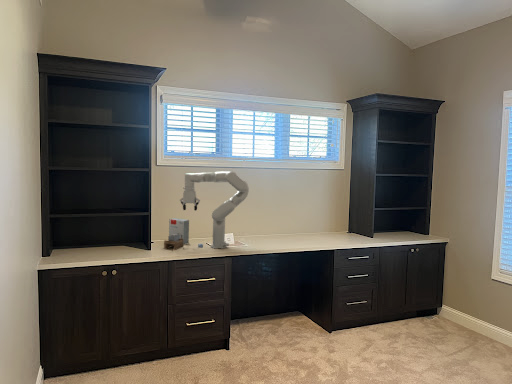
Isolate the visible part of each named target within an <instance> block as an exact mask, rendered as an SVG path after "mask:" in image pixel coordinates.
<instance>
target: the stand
mask: <svg viewBox="0 0 512 384" xmlns="http://www.w3.org/2000/svg"><path fill="white" fill-rule="evenodd" d="M163 243H164V244H163V248H164V249H165V250H166V249H169V248H172V247H173V250H178V249H180V248H183V247H184V245H183V239H180V241H177V242H176V241H168V240H166V239H165V240H163Z"/></svg>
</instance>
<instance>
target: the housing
mask: <svg viewBox="0 0 512 384" xmlns="http://www.w3.org/2000/svg"><path fill="white" fill-rule="evenodd" d="M167 237H168V240H167V241H176V242H177V241H180V235H177V234H172V235H170V236H169V235H168V236H167Z"/></svg>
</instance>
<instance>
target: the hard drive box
mask: <svg viewBox="0 0 512 384" xmlns="http://www.w3.org/2000/svg"><path fill="white" fill-rule="evenodd" d="M168 222H169V224H168V236H170V235H172V234H177V235H180V239H183V246H184V245H187V244H190V243H189V240H190V236H189V235H190V220H189V219H183V218H177V217H176V218H175V217H173V218H169V221H168Z"/></svg>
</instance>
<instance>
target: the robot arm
mask: <svg viewBox="0 0 512 384" xmlns="http://www.w3.org/2000/svg"><path fill="white" fill-rule="evenodd" d="M209 182H210V183H228V184H230V185H231V186H232V187H233V188H234V189H235V190H237V191H236V193H234V194H233V195H232V196H230V198H228V199H226V200H225V201H223V203H222V204H221V205H219V206H218V207H217V208H215V209H213V211H212V213H211V219H212V220H213V221H212V244H211V245H210V248H212V249H216V248H221V249H225V248H227V247H229V246H230V243H228V242H226V241H225V240H226V239H225V235H226V234H225V233H226V217H228V216H229V215H230V214H231V213H232V212H234V211H235V209H236V208H237V207H238V206H239V205H240V204H241V203H242V202H244V201H245V200H246V199H247V197H248V194H249V192H250V191H249V188H250V187H249V184H248V182H247V181H244V180H243V179H241V178H240V176H238V175H237V173H236V172H235V171H233V170H232V171H228V170H227V171H214V172H196V173H192V172H191V173H189V172H188V173H187V172H186V173H185V174H184V187H183V195H182V198H180V199H179V201H180V204H181V205H182V211H186V210H187V205H186V204H193V205H194V206H193V209H194V211H197V210H198V205H199V203H200V202H201V199H199V198H197V193H196V190H195V183H209Z"/></svg>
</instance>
